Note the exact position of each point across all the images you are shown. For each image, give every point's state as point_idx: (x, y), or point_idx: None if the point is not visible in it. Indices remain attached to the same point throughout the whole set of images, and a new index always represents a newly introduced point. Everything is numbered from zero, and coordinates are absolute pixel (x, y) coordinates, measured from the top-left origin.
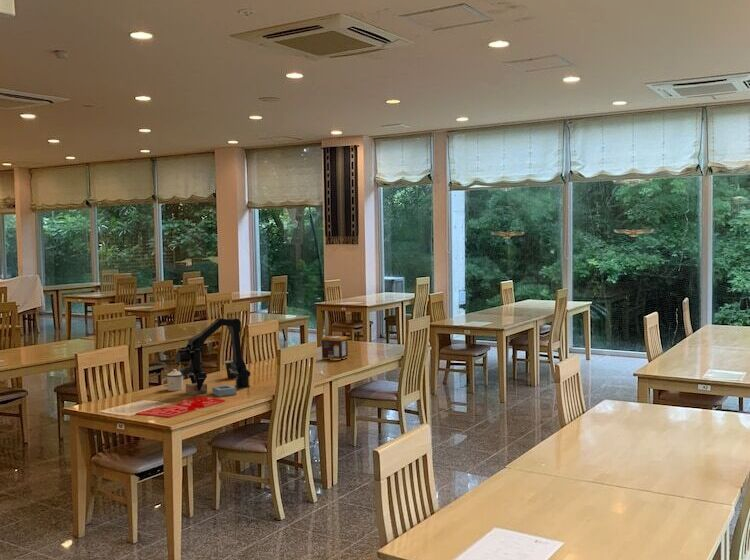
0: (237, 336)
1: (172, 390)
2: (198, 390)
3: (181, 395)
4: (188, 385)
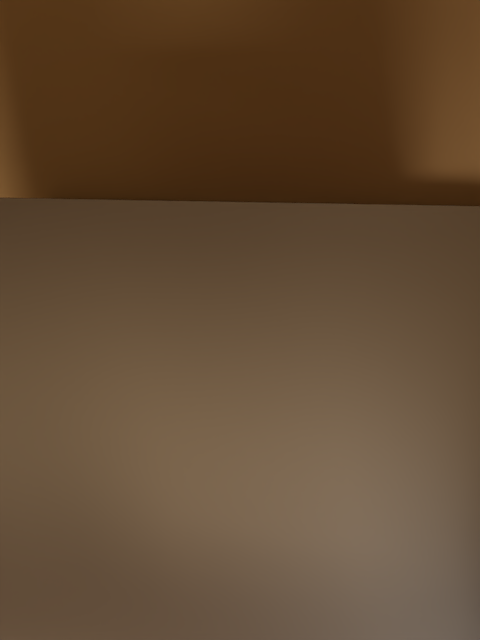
0: None
1: None
2: None
3: (325, 30)
4: (36, 240)
